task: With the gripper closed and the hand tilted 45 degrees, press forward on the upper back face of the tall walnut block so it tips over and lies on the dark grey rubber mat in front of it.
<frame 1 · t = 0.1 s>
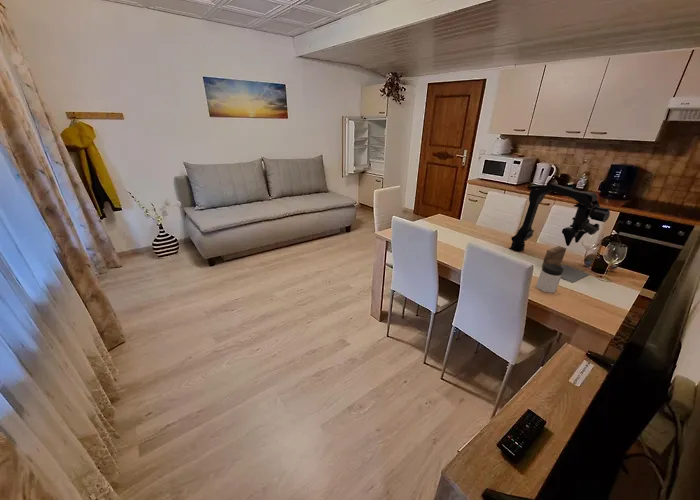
hand: (571, 244, 160), 15 cm above the table, tool pointing down, fingers open, 9 cm apart
jar: (545, 288, 145), on the table
mat: (568, 273, 160), on the table
tin: (597, 269, 167), on the table
block: (550, 266, 167), on the table
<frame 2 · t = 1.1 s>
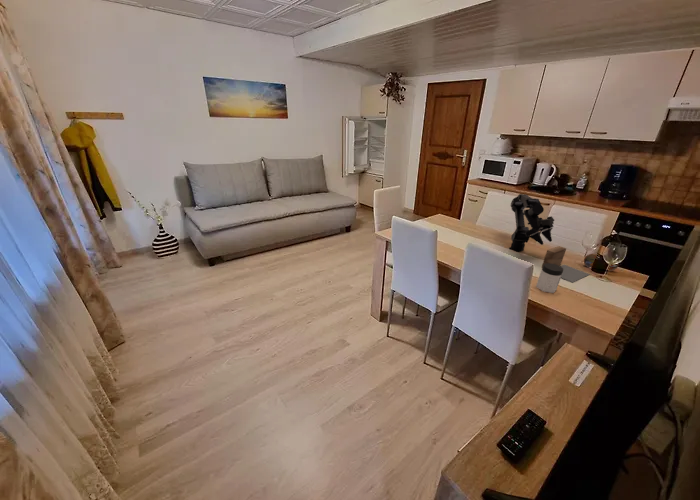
hand: (546, 243, 167), 12 cm above the table, tool tilted 45°, fingers open, 8 cm apart
nothing on the table moved.
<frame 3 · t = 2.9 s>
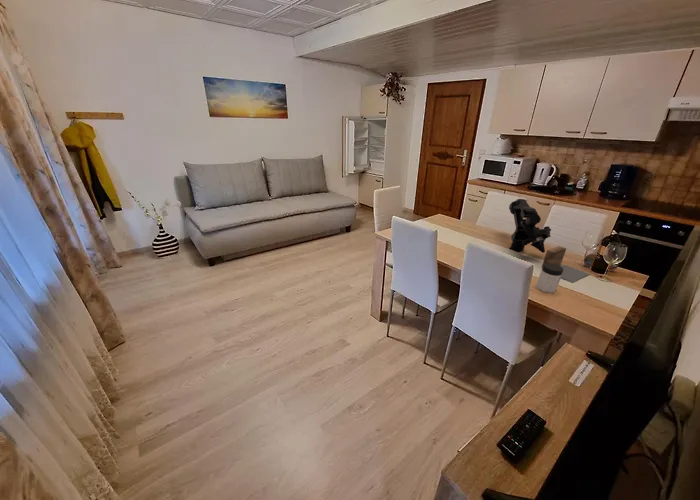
hand: (543, 252, 169), 7 cm above the table, tool tilted 45°, fingers closed
nothing on the table moved.
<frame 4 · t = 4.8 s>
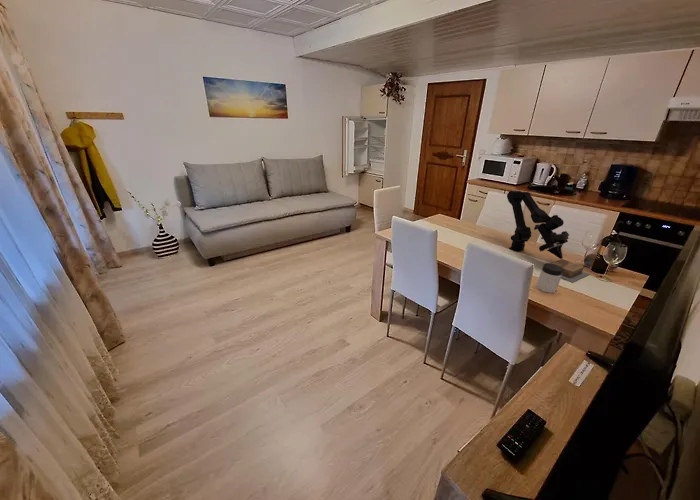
hand: (561, 258, 161), 7 cm above the table, tool tilted 45°, fingers closed
block: (555, 264, 165), point 2 cm above the table, tilted 90°, touching mat
everything else where it was.
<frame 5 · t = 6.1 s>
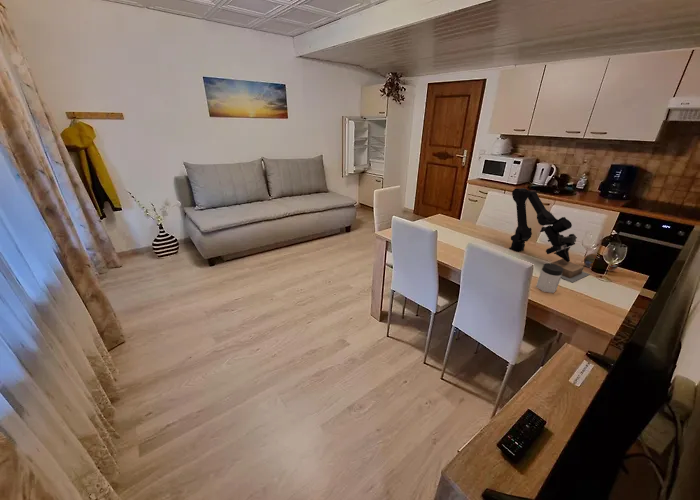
hand: (568, 261, 159), 7 cm above the table, tool tilted 45°, fingers closed
nothing on the table moved.
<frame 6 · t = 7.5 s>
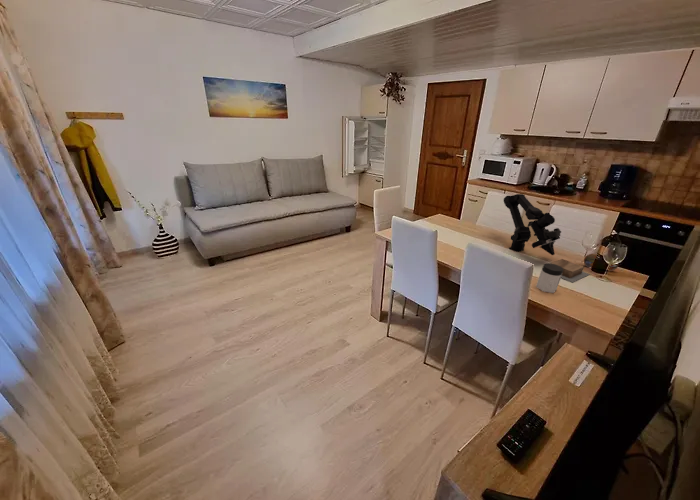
hand: (553, 254, 165), 7 cm above the table, tool tilted 45°, fingers closed
nothing on the table moved.
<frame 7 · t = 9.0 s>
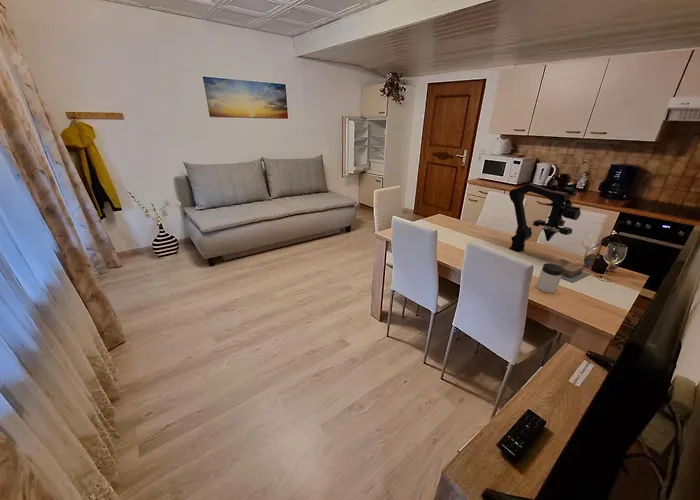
hand: (547, 240, 171), 12 cm above the table, tool pointing down, fingers closed
nothing on the table moved.
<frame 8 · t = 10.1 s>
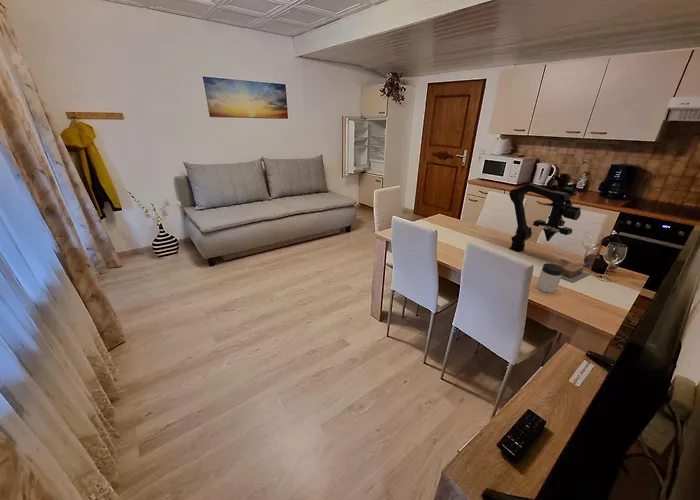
hand: (547, 240, 171), 12 cm above the table, tool pointing down, fingers closed
nothing on the table moved.
at the end: block tilted 90°; block touching mat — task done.
